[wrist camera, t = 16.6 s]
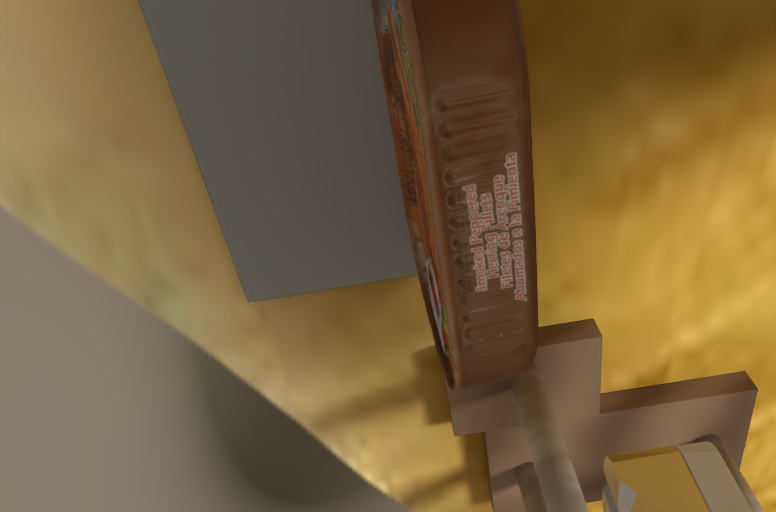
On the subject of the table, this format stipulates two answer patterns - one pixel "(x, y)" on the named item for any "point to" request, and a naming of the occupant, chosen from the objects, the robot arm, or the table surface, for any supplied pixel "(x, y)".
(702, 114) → the table surface
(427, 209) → the tin
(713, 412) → the buzz wire frame
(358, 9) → the mat
